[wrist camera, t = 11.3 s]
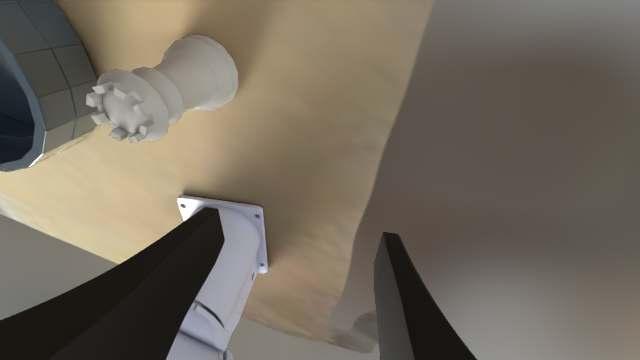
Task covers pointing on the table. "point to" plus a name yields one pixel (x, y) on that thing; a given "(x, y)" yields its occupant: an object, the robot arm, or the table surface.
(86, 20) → the table surface
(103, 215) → the table surface
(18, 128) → the bowl
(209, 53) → the rook chess piece
